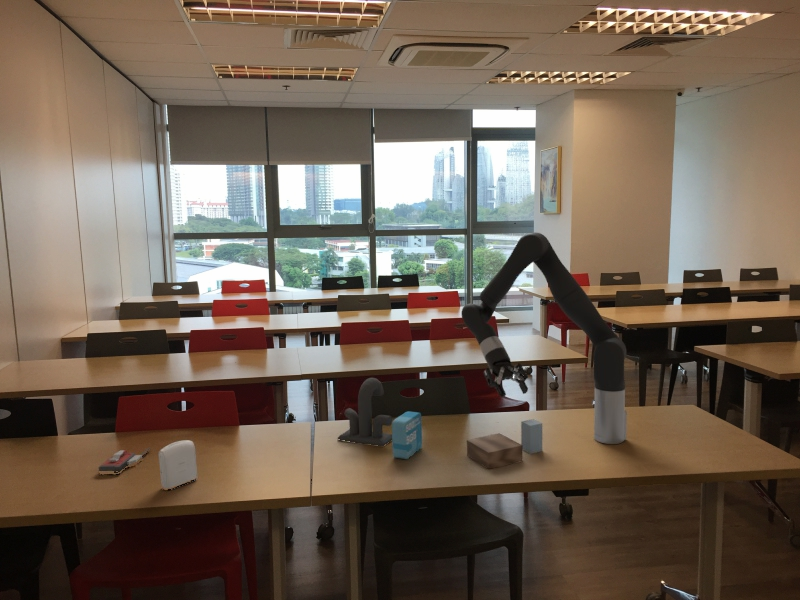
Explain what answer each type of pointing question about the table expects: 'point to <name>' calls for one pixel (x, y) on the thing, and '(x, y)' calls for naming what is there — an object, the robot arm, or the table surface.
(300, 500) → the table surface
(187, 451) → the photo printer
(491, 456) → the walnut base
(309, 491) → the table surface
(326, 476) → the table surface
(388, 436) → the faucet
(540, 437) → the slate block
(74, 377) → the table surface
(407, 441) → the light blue box
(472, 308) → the robot arm
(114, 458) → the walkie-talkie
